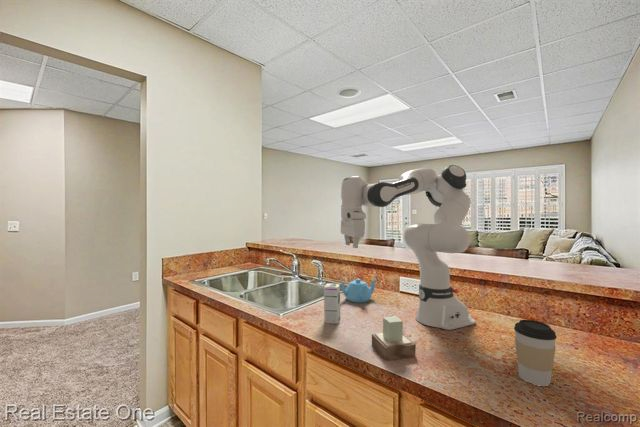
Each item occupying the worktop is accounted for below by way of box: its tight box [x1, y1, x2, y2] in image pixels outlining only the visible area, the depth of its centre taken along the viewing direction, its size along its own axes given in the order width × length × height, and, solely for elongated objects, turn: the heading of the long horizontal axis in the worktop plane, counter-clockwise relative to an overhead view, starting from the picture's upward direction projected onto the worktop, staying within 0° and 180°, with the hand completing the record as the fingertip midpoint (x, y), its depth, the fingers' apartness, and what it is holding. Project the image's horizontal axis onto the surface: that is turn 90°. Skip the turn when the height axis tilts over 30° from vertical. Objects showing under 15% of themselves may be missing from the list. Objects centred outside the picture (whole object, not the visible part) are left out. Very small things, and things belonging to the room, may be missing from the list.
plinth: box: [371, 332, 417, 361], centre depth 92 cm, size 10×10×4 cm
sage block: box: [382, 315, 404, 342], centre depth 92 cm, size 4×4×6 cm
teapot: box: [339, 278, 378, 304], centre depth 143 cm, size 15×15×10 cm
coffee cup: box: [513, 319, 558, 386], centre depth 76 cm, size 9×9×15 cm
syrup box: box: [323, 282, 341, 325], centre depth 116 cm, size 6×6×14 cm
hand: (351, 246), depth 123 cm, fingers open, 8 cm apart
